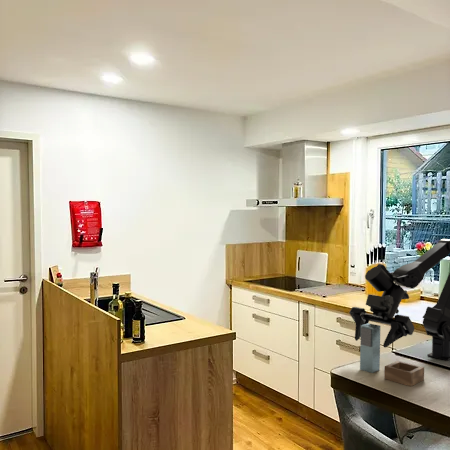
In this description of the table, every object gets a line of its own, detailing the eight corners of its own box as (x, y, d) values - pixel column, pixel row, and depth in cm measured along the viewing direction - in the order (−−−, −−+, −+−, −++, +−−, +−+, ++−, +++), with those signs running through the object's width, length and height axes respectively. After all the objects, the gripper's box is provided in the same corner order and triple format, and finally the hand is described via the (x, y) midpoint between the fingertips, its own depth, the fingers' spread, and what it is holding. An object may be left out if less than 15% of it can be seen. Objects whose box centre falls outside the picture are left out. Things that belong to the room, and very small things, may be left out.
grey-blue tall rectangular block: (367, 366, 139) (368, 323, 138) (379, 370, 136) (380, 325, 135) (359, 369, 136) (359, 325, 135) (371, 373, 133) (372, 328, 132)
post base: (397, 372, 133) (398, 360, 133) (424, 379, 128) (424, 367, 128) (384, 378, 128) (384, 366, 128) (410, 386, 123) (411, 373, 123)
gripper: (353, 281, 146) (331, 320, 139) (410, 288, 132) (390, 333, 125) (366, 303, 151) (346, 342, 144) (422, 312, 137) (403, 356, 130)
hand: (369, 343), depth 136 cm, fingers open, 9 cm apart
